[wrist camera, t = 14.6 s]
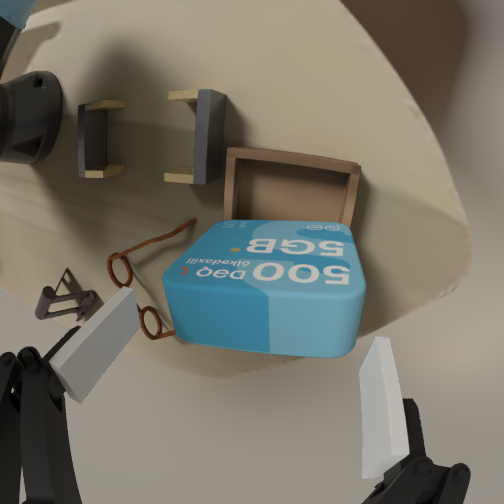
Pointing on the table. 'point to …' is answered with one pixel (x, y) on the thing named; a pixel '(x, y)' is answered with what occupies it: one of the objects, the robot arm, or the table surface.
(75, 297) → the portable electronic device stand
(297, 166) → the tray
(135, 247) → the glasses
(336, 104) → the table surface
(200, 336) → the data package
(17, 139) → the robot arm
